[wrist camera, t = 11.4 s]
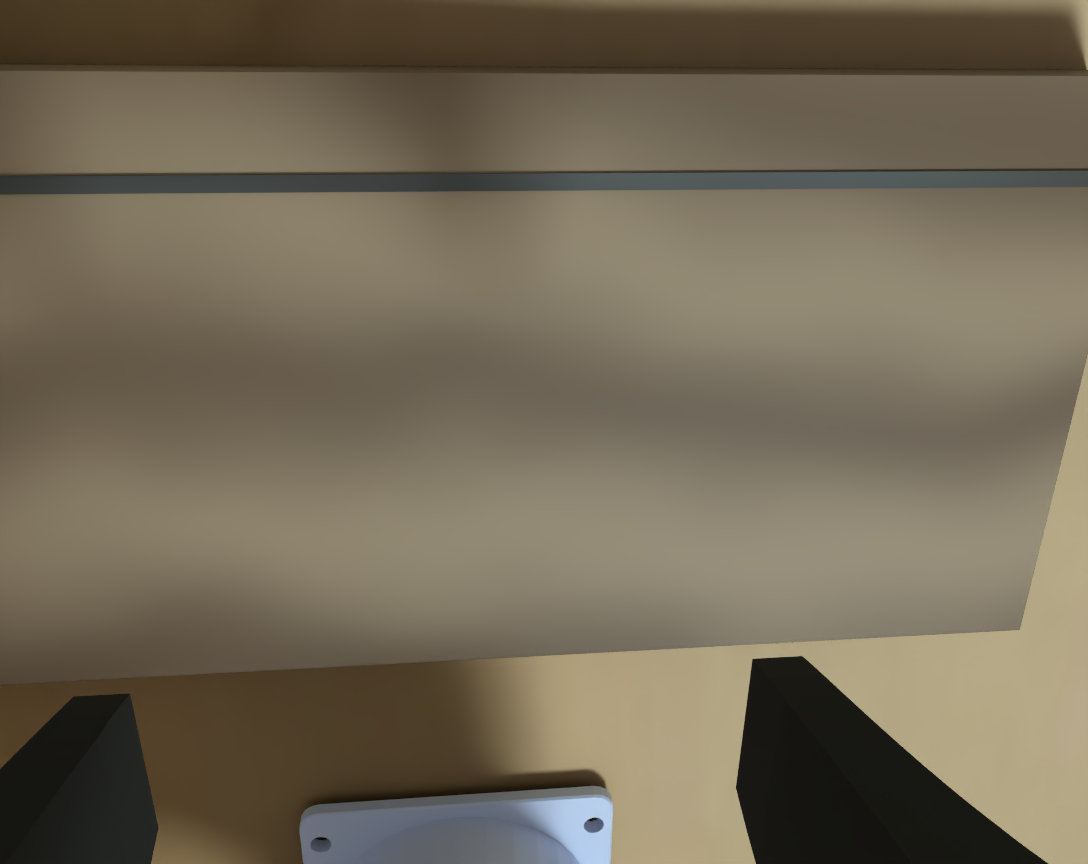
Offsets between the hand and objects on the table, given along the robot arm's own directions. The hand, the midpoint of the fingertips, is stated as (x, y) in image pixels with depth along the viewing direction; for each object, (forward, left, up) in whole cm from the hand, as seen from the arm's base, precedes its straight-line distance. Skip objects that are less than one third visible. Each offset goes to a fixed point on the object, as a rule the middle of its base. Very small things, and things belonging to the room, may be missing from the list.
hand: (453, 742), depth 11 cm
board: (+1, +2, -10) cm, 11 cm away
